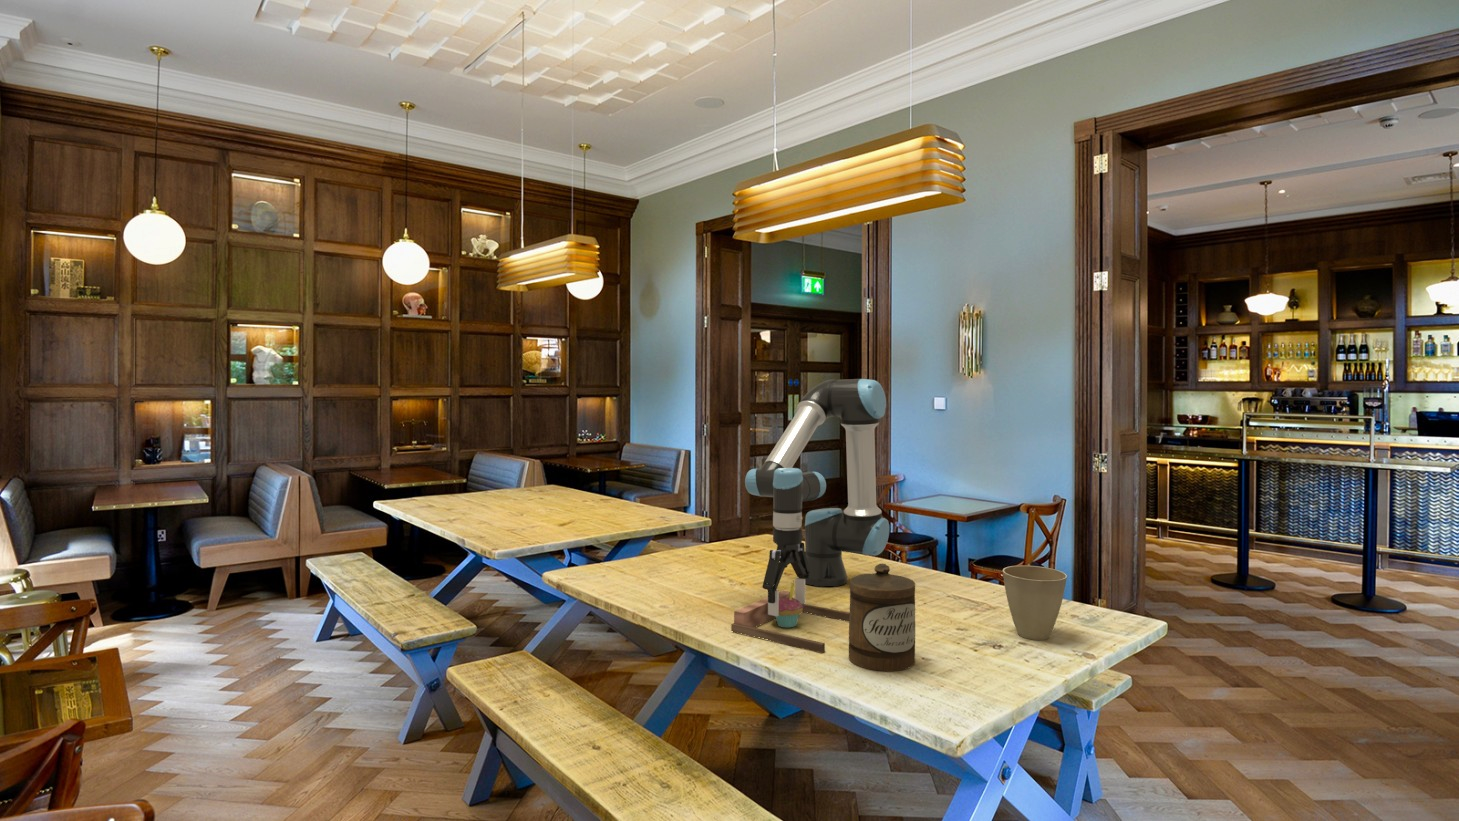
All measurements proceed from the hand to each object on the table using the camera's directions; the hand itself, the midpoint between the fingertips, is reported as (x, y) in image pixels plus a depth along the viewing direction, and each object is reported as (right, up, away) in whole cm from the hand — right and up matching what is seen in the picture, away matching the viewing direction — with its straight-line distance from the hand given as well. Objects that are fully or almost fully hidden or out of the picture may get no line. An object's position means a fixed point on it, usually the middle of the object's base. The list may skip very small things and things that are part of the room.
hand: (787, 608), depth 197 cm
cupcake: (0, -4, 0) cm, 4 cm away
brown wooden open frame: (+4, -4, -3) cm, 6 cm away
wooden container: (+20, -5, -25) cm, 32 cm away
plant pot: (+61, -5, -8) cm, 62 cm away
